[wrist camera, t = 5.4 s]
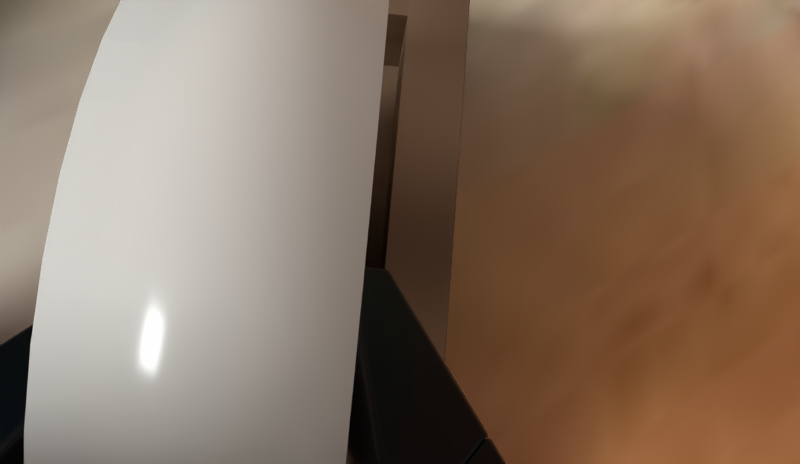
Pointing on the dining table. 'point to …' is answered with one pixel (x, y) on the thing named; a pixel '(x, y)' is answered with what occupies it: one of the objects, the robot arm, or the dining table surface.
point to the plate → (210, 238)
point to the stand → (419, 155)
